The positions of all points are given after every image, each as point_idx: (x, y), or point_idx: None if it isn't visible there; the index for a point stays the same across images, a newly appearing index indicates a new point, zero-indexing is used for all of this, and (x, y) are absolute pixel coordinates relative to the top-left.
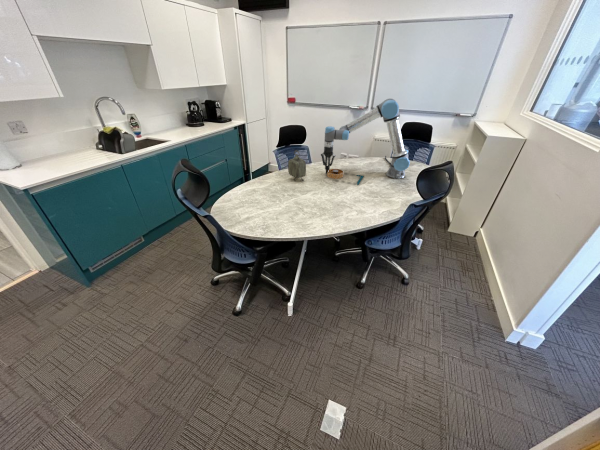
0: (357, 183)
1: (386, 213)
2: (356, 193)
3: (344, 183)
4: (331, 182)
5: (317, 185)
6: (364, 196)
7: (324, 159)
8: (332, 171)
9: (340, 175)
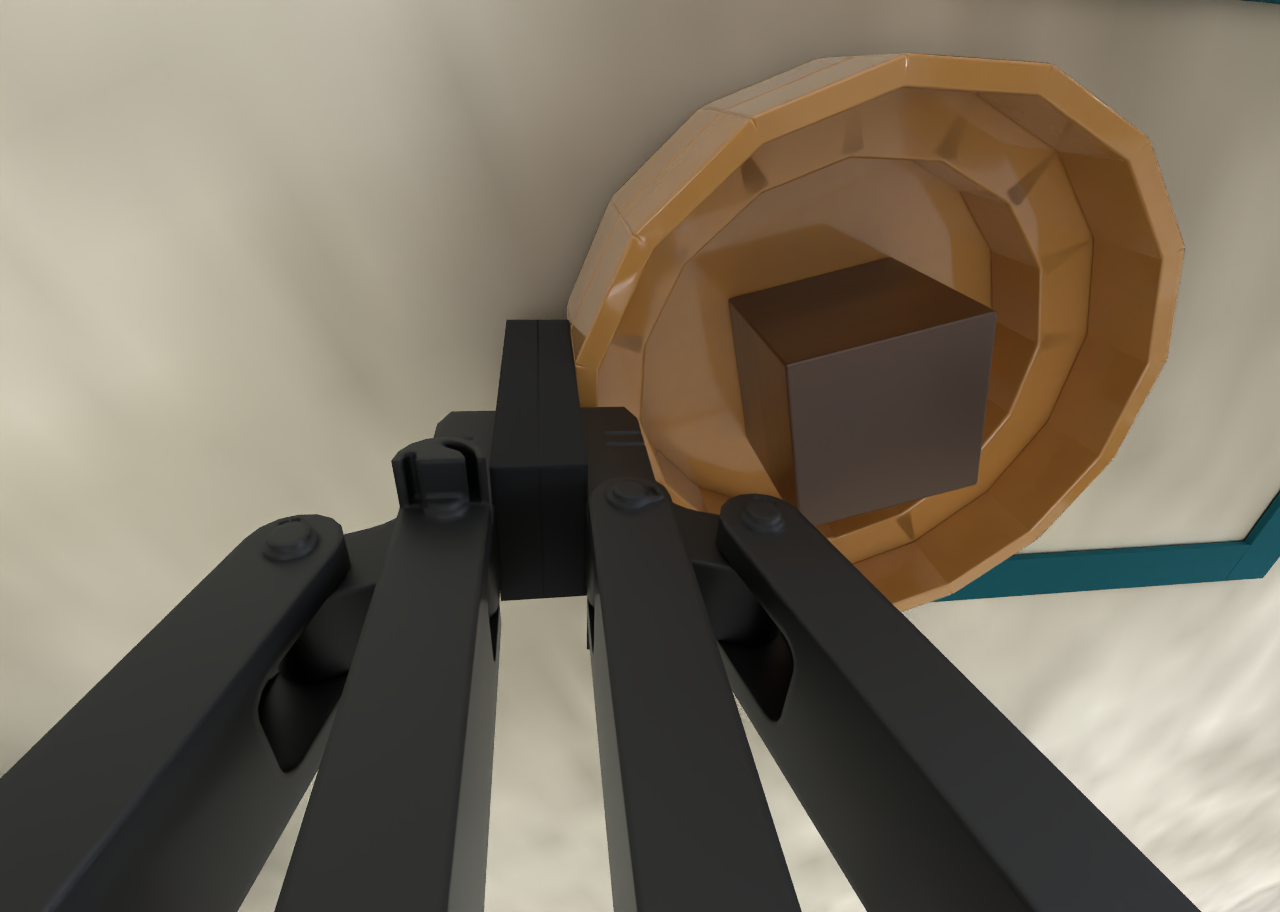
0: (1270, 540)
1: (1265, 900)
2: (1128, 780)
3: (1015, 612)
4: None
5: (570, 830)
6: (1200, 793)
7: (80, 897)
8: (714, 222)
9: (1002, 511)
